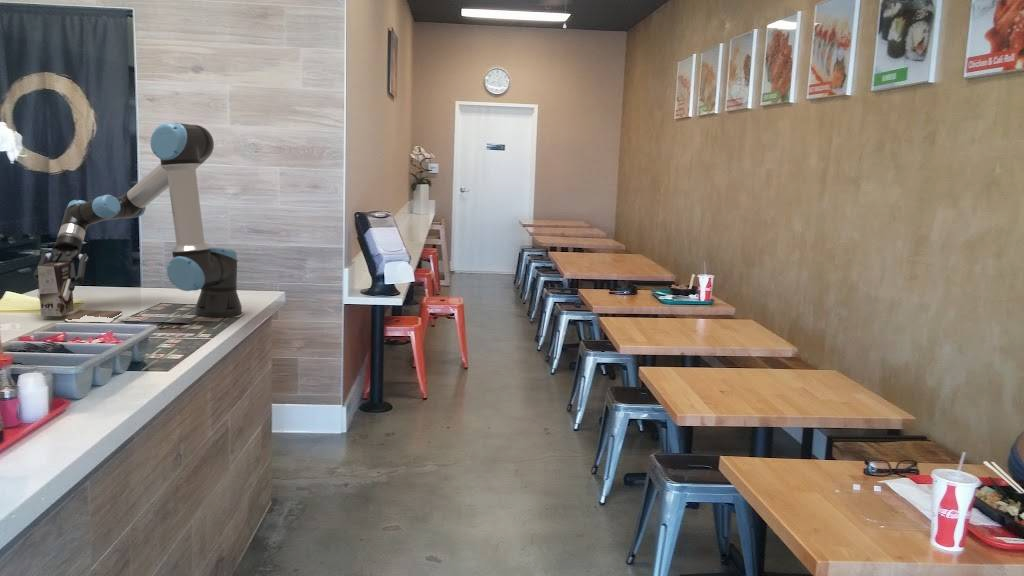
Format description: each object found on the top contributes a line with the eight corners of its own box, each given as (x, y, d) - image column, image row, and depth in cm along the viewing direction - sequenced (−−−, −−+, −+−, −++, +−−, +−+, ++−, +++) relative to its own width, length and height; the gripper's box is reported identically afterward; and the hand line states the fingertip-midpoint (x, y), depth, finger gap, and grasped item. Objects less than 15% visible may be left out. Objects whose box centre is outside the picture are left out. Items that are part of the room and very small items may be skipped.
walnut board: (121, 314, 253) (121, 311, 253) (109, 323, 240) (109, 319, 240) (79, 313, 250) (79, 309, 250) (64, 322, 238) (64, 318, 238)
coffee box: (62, 316, 239) (58, 266, 236) (40, 316, 238) (36, 265, 235) (74, 310, 248) (71, 261, 245) (54, 310, 247) (50, 261, 244)
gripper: (104, 248, 257) (89, 305, 244) (41, 246, 253) (22, 303, 240) (98, 234, 251) (83, 292, 238) (33, 232, 247) (14, 290, 234)
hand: (52, 297), depth 239 cm, fingers closed on coffee box, 7 cm apart
